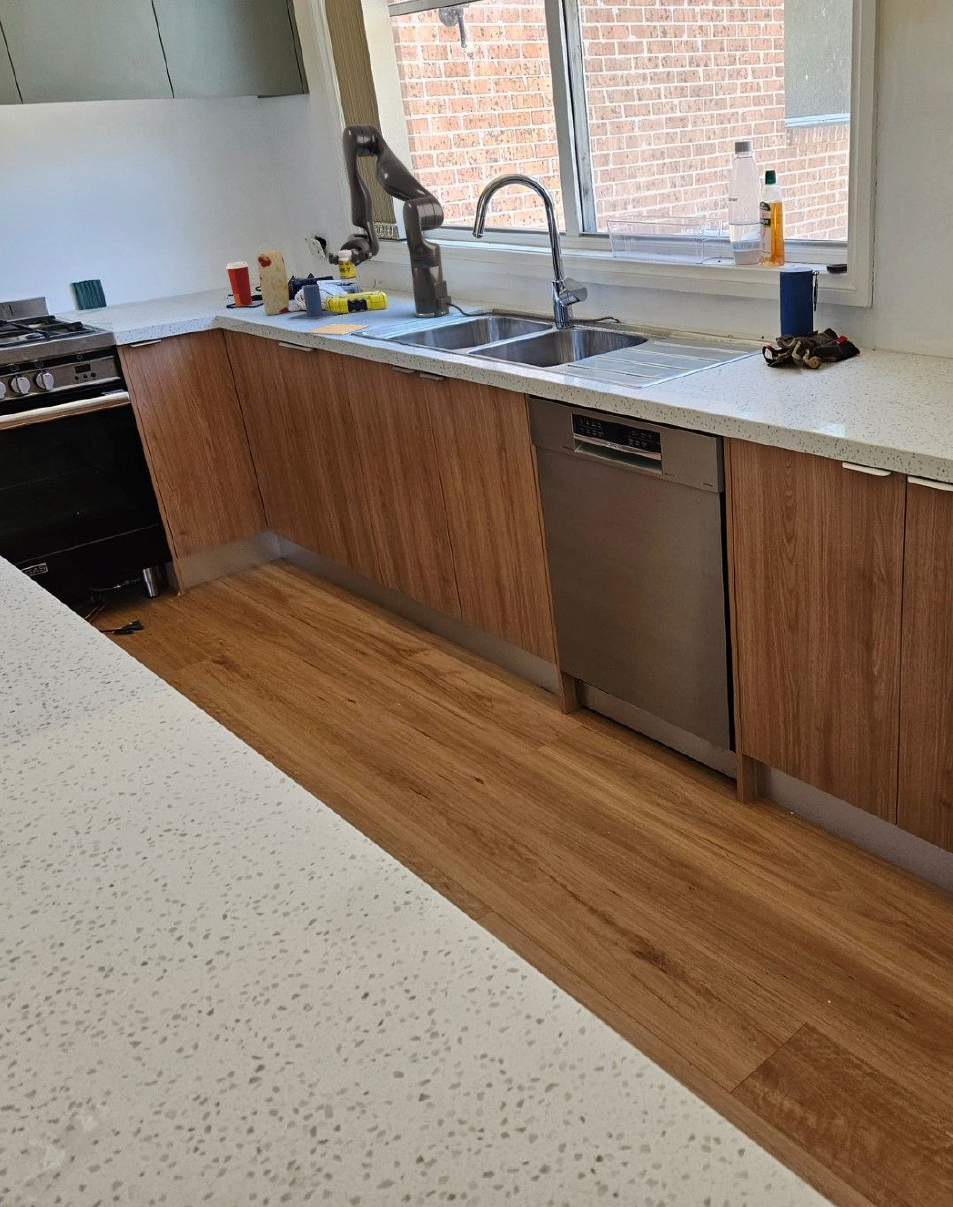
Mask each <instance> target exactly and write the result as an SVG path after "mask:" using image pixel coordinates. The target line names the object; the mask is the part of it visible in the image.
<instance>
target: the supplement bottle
mask: <svg viewBox="0 0 953 1207" xmlns="http://www.w3.org/2000/svg"><path fill="white" fill-rule="evenodd" d="M337 252H338V256H339V258H338V265H337V266H338V272H339V279H340V281H341V282H351V281H354V280H357V274H356V267H355V265H354V264H352V258H351V255H352V253H351V250H343V251H340V250H339V251H337Z"/></svg>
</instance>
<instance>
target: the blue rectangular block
mask: <svg viewBox="0 0 953 1207" xmlns="http://www.w3.org/2000/svg"><path fill="white" fill-rule="evenodd" d="M302 291H303V299H304V305H305V311H306V313H307V316H308V317H315V316H321V315H323V311H324V310H323V305H322V299H321V291H320V285H319V284H307V285H303V286H302Z"/></svg>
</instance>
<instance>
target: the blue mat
mask: <svg viewBox="0 0 953 1207" xmlns="http://www.w3.org/2000/svg"><path fill="white" fill-rule="evenodd" d="M322 311H323V315H321V316H315V317H308V316H307V312H305V313H301V314H299V315H295V316H292V317H288V320H309V321H317V320H321V319H324V318H327V317H330V316H334V315H337V314H341V313H342V311H326V310H322Z"/></svg>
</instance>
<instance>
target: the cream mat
mask: <svg viewBox="0 0 953 1207" xmlns="http://www.w3.org/2000/svg"><path fill="white" fill-rule="evenodd" d="M367 327H369V324H354V323H353V324H351V323H329V324H327V325H323V326H321V327H317V328H313V329H310V330H308V331H305V333H306V334H316V335H317V334H318V335H320V334H321V335H338V336H343V335H346V334H349V333H352V332H355V331H358V330H361V329H364V328H367Z"/></svg>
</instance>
